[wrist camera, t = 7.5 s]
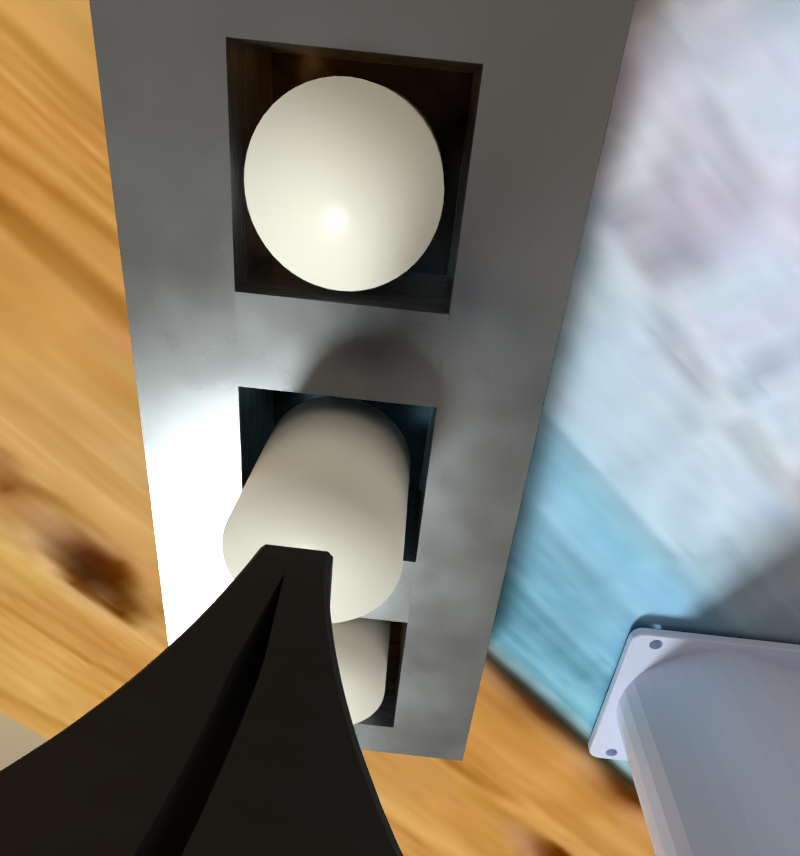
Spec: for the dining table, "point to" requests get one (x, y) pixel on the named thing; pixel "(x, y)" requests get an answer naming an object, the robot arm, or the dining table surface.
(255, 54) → the knob mount
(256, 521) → the knob middle
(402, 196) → the knob
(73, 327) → the dining table surface
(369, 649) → the knob
